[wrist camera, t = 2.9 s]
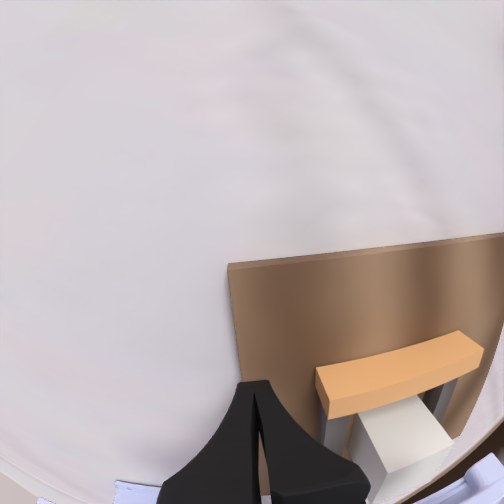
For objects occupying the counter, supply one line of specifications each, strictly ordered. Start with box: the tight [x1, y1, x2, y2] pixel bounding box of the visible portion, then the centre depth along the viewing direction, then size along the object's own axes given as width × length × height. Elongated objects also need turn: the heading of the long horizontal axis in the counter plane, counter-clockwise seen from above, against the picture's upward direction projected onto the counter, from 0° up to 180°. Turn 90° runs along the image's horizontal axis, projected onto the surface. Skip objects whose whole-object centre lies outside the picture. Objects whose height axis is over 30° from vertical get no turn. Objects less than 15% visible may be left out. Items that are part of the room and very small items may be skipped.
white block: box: [348, 395, 454, 504], centre depth 11 cm, size 4×4×5 cm
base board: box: [227, 232, 504, 496], centre depth 13 cm, size 18×18×2 cm
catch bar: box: [315, 330, 484, 420], centre depth 11 cm, size 9×1×2 cm, turn 95°
